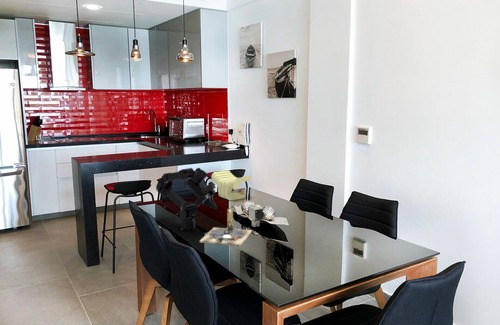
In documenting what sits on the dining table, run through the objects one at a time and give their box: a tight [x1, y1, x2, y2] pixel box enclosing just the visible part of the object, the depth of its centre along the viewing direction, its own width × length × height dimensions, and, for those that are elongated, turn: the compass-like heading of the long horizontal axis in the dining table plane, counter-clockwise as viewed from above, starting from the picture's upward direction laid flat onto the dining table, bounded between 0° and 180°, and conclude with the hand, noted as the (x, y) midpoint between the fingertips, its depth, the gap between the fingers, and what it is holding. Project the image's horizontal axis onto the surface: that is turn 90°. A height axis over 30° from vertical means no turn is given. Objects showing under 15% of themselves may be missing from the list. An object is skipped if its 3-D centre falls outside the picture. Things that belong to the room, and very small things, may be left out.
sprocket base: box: [199, 227, 253, 247], centre depth 213 cm, size 22×22×3 cm
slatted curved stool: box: [211, 170, 253, 201], centre depth 298 cm, size 30×16×18 cm, turn 36°
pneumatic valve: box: [247, 205, 265, 228], centre depth 231 cm, size 6×12×12 cm, turn 27°
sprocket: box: [209, 208, 245, 241], centre depth 212 cm, size 18×18×12 cm
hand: (216, 208), depth 218 cm, fingers closed
